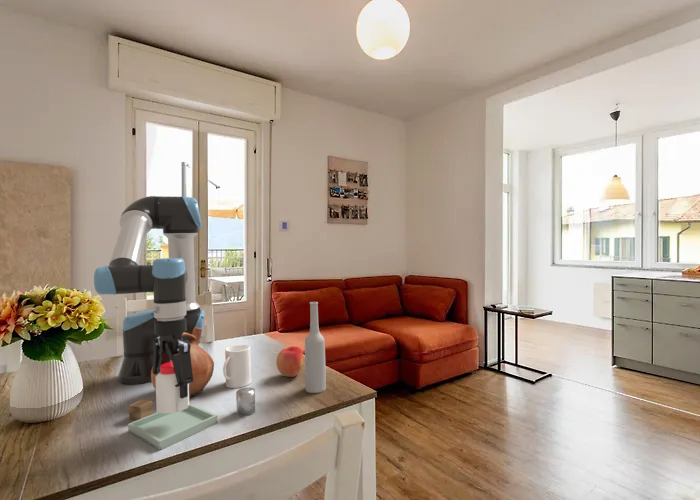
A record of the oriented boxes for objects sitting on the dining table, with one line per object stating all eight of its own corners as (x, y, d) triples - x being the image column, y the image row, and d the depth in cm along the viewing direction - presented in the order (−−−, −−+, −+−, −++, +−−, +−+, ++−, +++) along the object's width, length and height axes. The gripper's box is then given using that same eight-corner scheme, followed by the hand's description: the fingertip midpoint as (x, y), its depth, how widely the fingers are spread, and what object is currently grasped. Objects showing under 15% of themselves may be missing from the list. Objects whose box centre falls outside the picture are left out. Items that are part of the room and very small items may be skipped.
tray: (128, 431, 94) (128, 423, 94) (185, 408, 107) (184, 401, 107) (159, 450, 86) (159, 441, 85) (217, 422, 98) (217, 415, 98)
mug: (233, 393, 117) (232, 356, 117) (212, 389, 120) (211, 353, 120) (256, 380, 128) (256, 345, 127) (237, 377, 131) (236, 343, 131)
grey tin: (233, 413, 104) (232, 392, 103) (247, 406, 108) (246, 386, 107) (244, 417, 101) (244, 396, 100) (259, 410, 105) (258, 389, 105)
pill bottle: (149, 410, 94) (147, 367, 94) (174, 398, 101) (172, 358, 101) (172, 415, 91) (170, 371, 91) (196, 402, 98) (194, 361, 98)
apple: (290, 369, 138) (290, 342, 138) (309, 374, 132) (309, 346, 132) (271, 377, 130) (270, 349, 130) (290, 383, 125) (290, 353, 124)
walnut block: (129, 420, 101) (128, 405, 101) (141, 413, 105) (140, 399, 104) (141, 422, 100) (140, 407, 100) (152, 415, 103) (152, 401, 103)
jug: (173, 410, 106) (171, 341, 106) (139, 397, 116) (137, 333, 115) (226, 388, 122) (224, 327, 121) (191, 378, 131) (190, 321, 131)
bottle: (317, 394, 115) (315, 304, 114) (301, 390, 118) (299, 303, 118) (330, 387, 120) (328, 301, 120) (314, 383, 124) (312, 300, 123)
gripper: (135, 316, 98) (138, 401, 99) (178, 325, 87) (181, 422, 87) (163, 311, 105) (166, 392, 105) (207, 319, 93) (209, 409, 93)
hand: (173, 405), depth 96 cm, fingers closed on pill bottle, 8 cm apart
